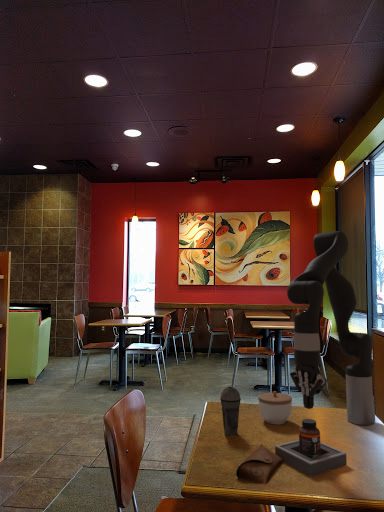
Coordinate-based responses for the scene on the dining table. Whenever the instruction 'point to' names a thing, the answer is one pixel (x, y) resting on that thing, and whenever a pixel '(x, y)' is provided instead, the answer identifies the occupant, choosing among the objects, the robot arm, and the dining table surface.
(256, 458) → the sunglasses case
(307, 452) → the supplement bottle
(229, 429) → the beverage cup
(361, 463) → the dining table surface
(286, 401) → the lidded bowl
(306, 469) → the holder block
